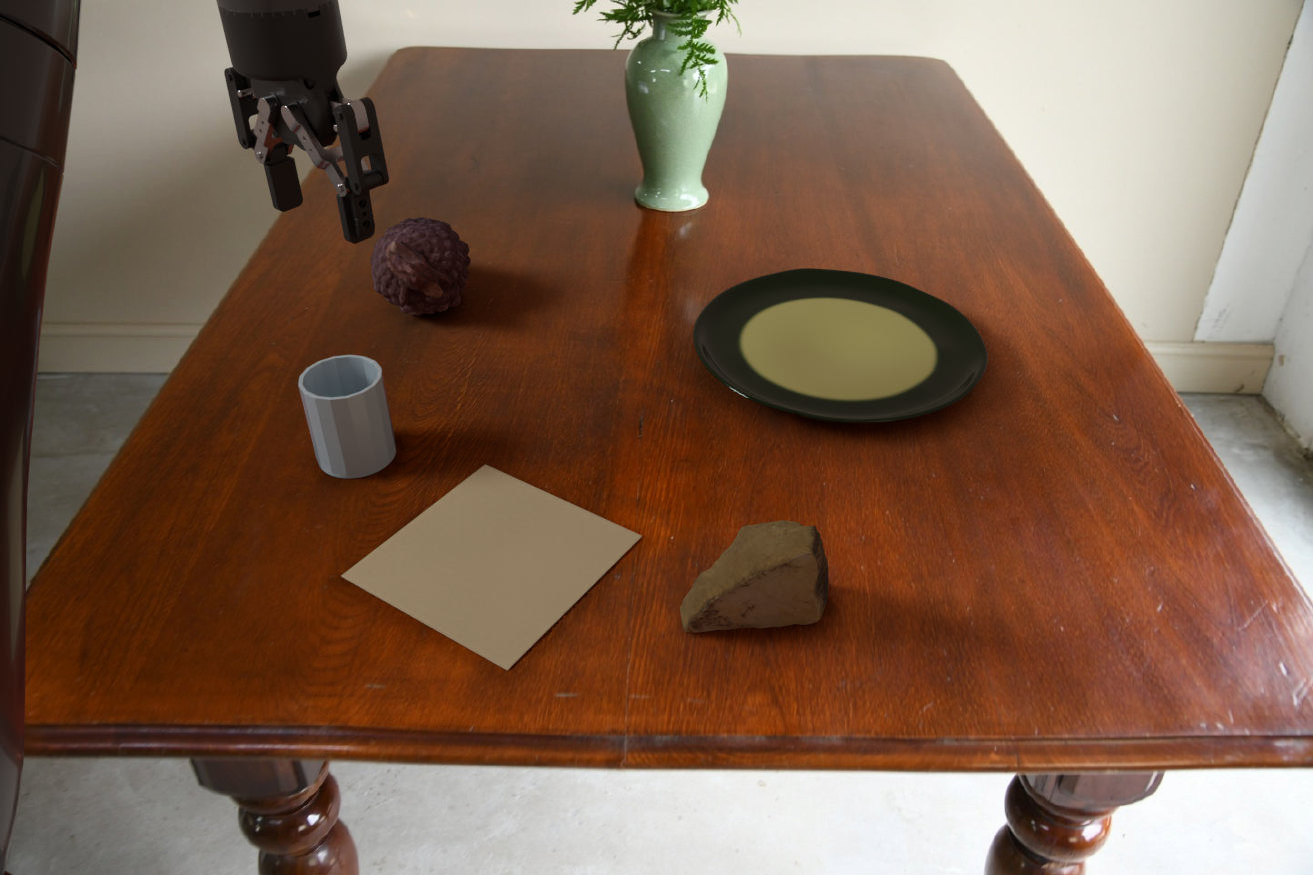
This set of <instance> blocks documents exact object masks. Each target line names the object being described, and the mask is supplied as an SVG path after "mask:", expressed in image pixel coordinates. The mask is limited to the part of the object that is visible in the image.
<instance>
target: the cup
mask: <svg viewBox="0 0 1313 875" xmlns="http://www.w3.org/2000/svg"><path fill="white" fill-rule="evenodd" d="M298 377H299V378H298V384H297V386H298V390H299V394H300V398H301V402H302V406H303V410H304V414H305V419H306V422H307V426H308V430H309V434H310V438H311V439H310V440H311V442H312V446H313V450H314V455H315V459H316V461H317V463H318V466H319V468H320V469H321V470H322V471H323V472H324V473H325V474H327V475H329V476H331V477H335V478H338V479H347V480H349V479H361V478H365V477H368V476H371V475H375V474H376V473H378V472H381V470H382V471H383V469H385V468H386V467H387V466H389V465H390V464H391V463H392V461H394V458H395V457H396V454H397V445H396V436H395V432H394V425H393V421H392V416H391V409H390V406H389V399H388V394H387V389H386V383H385V378H384V373H383V368H382V367H381V365H380V364H379V363H378V362H377V361H376V360H374V359H372V358H370V357H368V356H364V355H356V354H345V355H344V354H343V355H333V356H331V357H328V358H324V359H321V360H318V361H316V362H314V363H313V364H311V365H310V366H308V367H306V368H305V369H304V371H303V372H302V373H301V374H300V375H299V376H298Z"/></svg>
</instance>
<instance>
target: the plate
mask: <svg viewBox="0 0 1313 875" xmlns="http://www.w3.org/2000/svg"><path fill="white" fill-rule="evenodd" d="M692 343H693V347H694V350H695V352H696V355H697V357H698V359H699V361H700V362H701V364H702V365H703V366H704V368H705V369H706V370H707V371H708V372H709V373H710V374H711V375H712V377H714V378H715V379H716V380H717V381H719V382H720V383H721V384H722V385H723V386H725V387H726V388H727V389H729V390H731V391H733V392H734V393H735V394H738V395H739V396H741V397H743V398H744V399H747V400H749V401H751V402H753V403H756V404H758V405H761V406H764V407H767V408H769V409H772V410H776V411H780V412H784V413H787V414H791V415H794V416H799V417H802V418H807V419H811V420H816V421H822V422H827V423H836V424H837V423H838V424H853V425H854V424H855V425H856V424H857V425H859V424H861V425H865V424H866V425H867V424H883V423H884V424H886V423H893V422H901V421H908V420H911V419H917V418H920V417H924V416H928V415H931V414H933V413H936V412H940V411H942V410H944V409H947V408H949V407H951V406H953V405H954V404H957V403H958V402H960V401H961V400H963V399H965V397H966V396H968V395H969V394H970V393H971V392H972V391H973V390H974V389H975V388H976V387H977V386H978V384H979V383H980V382H981V380H982V378H983V377H984V375H985V373H986V370H987V368H988V365H989V353H988V349H987V346H986V343H985V341H984V339H983V336H982V335H981V334H980V332H979V330H978V329H977V327H976V325H975V324H973V322H972V321H971V320H970V319H969V318H968V316H966V315H965V314H963V312H962V311H960V310H959V309H958V308H956V307H954V306H953V305H951V304H950V303H949V302H946V301H945V300H943V299H941V298H939V297H936V296H935V295H932V294H930V293H928V292H926V291H923V290H921V289H919V288H917V287H914V286H912V285H910V284H907V283H904V282H902V281H899V280H895V279H893V278H888V277H886V276H880V275H877V274H876V275H875V274H872V273H865V272H859V271H852V270H851V271H850V270H840V269H831V268H830V269H829V268H817V267H814V268H812V267H806V268H805V267H802V268H794V269H787V270H783V271H777V272H774V273H769V274H765V275H760V276H757V277H754V278H751V279H747V280H745V281H741V282H740V283H737V284H735V285H733V286H730V287H729V288H727V289H724V290H723V291H722V292H720V293H719V294H717V295H716V296H714V298H712V299H711V300H710V301H709V302H708V303H707V304H706V305H705V306H704V308H703V309H702V310H701V311H700V312H699V315H698V316H697V318H696V320H695V322H694V325H693V330H692Z"/></svg>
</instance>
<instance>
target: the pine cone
mask: <svg viewBox="0 0 1313 875" xmlns="http://www.w3.org/2000/svg"><path fill="white" fill-rule="evenodd" d="M460 238H461V237H460V235H459V233H458V232H457V231H456V230H453V228H452V226H451V224H450V223H447V222H445V221H440V220H439V219H433V218H431V217H430V218H429V217H428V218H426V217H421V216H419V217H415V218H410V217H409V218H405V219H404V220H401V221H400V222H399V223H396V224H393V225H392V226H390V227H387V229H386V230H385V232H384V234H383V235H382V236H381V237H379V238H378V239H377V240H376V243H375V244H374V246H373V251H372V253H371V257H370V265H371V269H370V270H371V275H372V276H371V277H372V282H373V289H374V291H375V292H377V293H378V294H379V295H381V296H382V297H384V298H385V299H386V301H387V302H388V303H390V304H391V305H396V307H398V308H399V309H400V310H401V312H402V313H405V314H410V315H412V316H422V315H424V314H426V315H427V314H428V315H433V314H435V312H438V313H442V312H445V311H447V310H448V309H449V307H451V308H453V307H457V306H459V305H460V303H461V300H462V299H461V295H462V294H464V293H465V291H466V285H467V282H468V280H469V277H470V270H469V267H470V265H471V262H472V261H471V257H470V256H469V252H470V248H469V247H470V246H469V244H468V243H466V242H465V241H464V240H461V239H460Z"/></svg>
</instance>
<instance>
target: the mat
mask: <svg viewBox="0 0 1313 875" xmlns="http://www.w3.org/2000/svg"><path fill="white" fill-rule="evenodd" d="M642 537H643V535H642V534H639V533H637V532H635V531H633V530H630V529H629V528H626V527H624V526H623V525H622V526H621V525H619V524H617V523H615V522H613V521H611V520H608V519H606V518H604V517H602V516H600V515H597V514H595V513H593V512H591V511H589V510H587V509H584V508H582V507H580V506H578V505H575V504H573V503H571V502H569V501H567V500H564V499H562V498H560V497H558V496H555V495H554V494H551V493H549V492H547V491H545V490H542V489H540V488H538V487H536V486H533V485H532V484H530V483H527V482H525V481H523V480H521V479H519V478H516V477H514V476H512V475H509V474H508V473H505V472H503V471H501V470H499V469H497V468H495V467H492V466H490V465H487V464H484V465H482V466H481V467H480V468H478V469H477V470H476V471H474V472H473V473H472V474H471V475H470V476H468V477H467V478H465V479H464V480H463V481H461V482H460V483H459V484H458V485H456V486H455V487H454V488H453V489H451V490H450V491H449V492H447V493H446V494H444V496H442V497H440V499H439V500H437V501H436V502H435V503H433V504H431V505H430V506H429V507H428V508H426V510H423V512H422V513H420V514H419V515H417V516H416V517H415V518H413V520H411V521H410V522H409V523H407V524H406V525H405V526H403V527H402V528H401V529H400V530H398V531H397V532H396V533H394V534H393V535H392V536H391V537H389V538H388V539H386V540H385V541H384V542H383V543H382V544H380V545H379V546H377V547H376V548H375V549H373V550H372V551H371V552H370V553H368V554H367V555H366V556H365V557H363V558H362V559H361V560H359V561H358V562H357V563H356V564H354V565H353V566H351V567H350V568H349V569H348V570H346V571H345V572H344V573H343V574H341V575H340V577H341V578H343V579H344V580H346V581H347V582H350V583H351V584H353V585H355V586H356V587H359V588H360V589H362V590H364V591H365V592H366V593H368V594H371V595H373V596H375V597H376V598H378V599H379V600H381V601H383V602H384V603H387V604H388V605H390V606H392V607H394V608H395V609H397V610H399V611H401V612H402V613H405V614H406V615H408V616H409V617H411V618H413V619H415V620H417V621H418V622H420V623H422V624H423V625H425V626H426V627H429V628H431V629H433V630H434V631H436V632H438V633H440V634H441V635H443V636H445V637H447V638H448V639H449V640H452V641H454V642H456V643H457V644H459V645H461V646H463V647H464V648H465V649H468V650H470V651H471V652H473V653H474V654H477V655H479V656H480V657H482V658H484V659H486V660H487V661H489V662H491V663H492V664H494V665H496V666H498V667H500V668H502V669H503V670H505V671H506V672H507V671H509V670H510V669H511V668H512V667H513V666H514V665H515V664H516V663H517V662H518V661H519V660H520V659H521V658H522V657H524V655H525V654H526V653H527V652H528V651H529V650H530V649H531V648H532V647H533V646H535V644H537V643H538V641H539V640H540V639H541V638H542V637H543V636H544V635H546V634H547V632H548V631H550V629H551V628H552V627H553V626H554V625H556V623H558V621H559V620H561V619H562V617H563V616H564V615H565V614H566V613H567V612H568V611H569V610H570V609H571V608H572V607H573V606H574V605H576V603H577V602H578V601H580V599H581V598H582V597H583V596H584V595H585V594H586V593H587V592H589V591H590V589H592V587H593V586H595V584H596V583H597V582H599V580H600V579H601V578H602V577H603V576H604V575H605V574H606V573H607V572H608V571H609V570H611V569H612V568H613V566H614V565H615V564H617V562H618V561H619V560H621V558H622V557H623V556H625V554H626V553H627V552H628V551H630V550H631V549H632V547H633V546H635V545H636V544H637V543H638V541H639V540H641V539H642Z"/></svg>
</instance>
